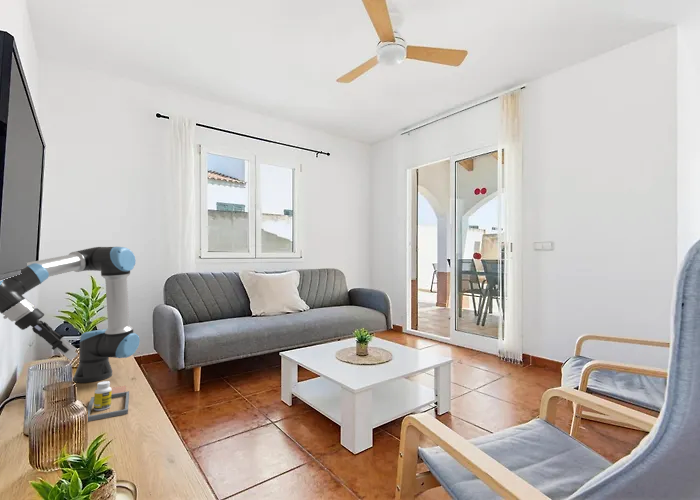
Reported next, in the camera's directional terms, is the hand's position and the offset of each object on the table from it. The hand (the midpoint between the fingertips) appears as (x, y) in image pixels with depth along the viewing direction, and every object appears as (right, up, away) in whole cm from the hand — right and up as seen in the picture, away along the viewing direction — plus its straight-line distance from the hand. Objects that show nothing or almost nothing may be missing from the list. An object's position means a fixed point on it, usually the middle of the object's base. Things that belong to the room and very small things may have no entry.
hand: (73, 354), depth 127 cm
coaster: (0, -23, +20) cm, 31 cm away
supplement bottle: (+8, -22, +4) cm, 24 cm away
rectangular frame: (+9, -22, +5) cm, 25 cm away
